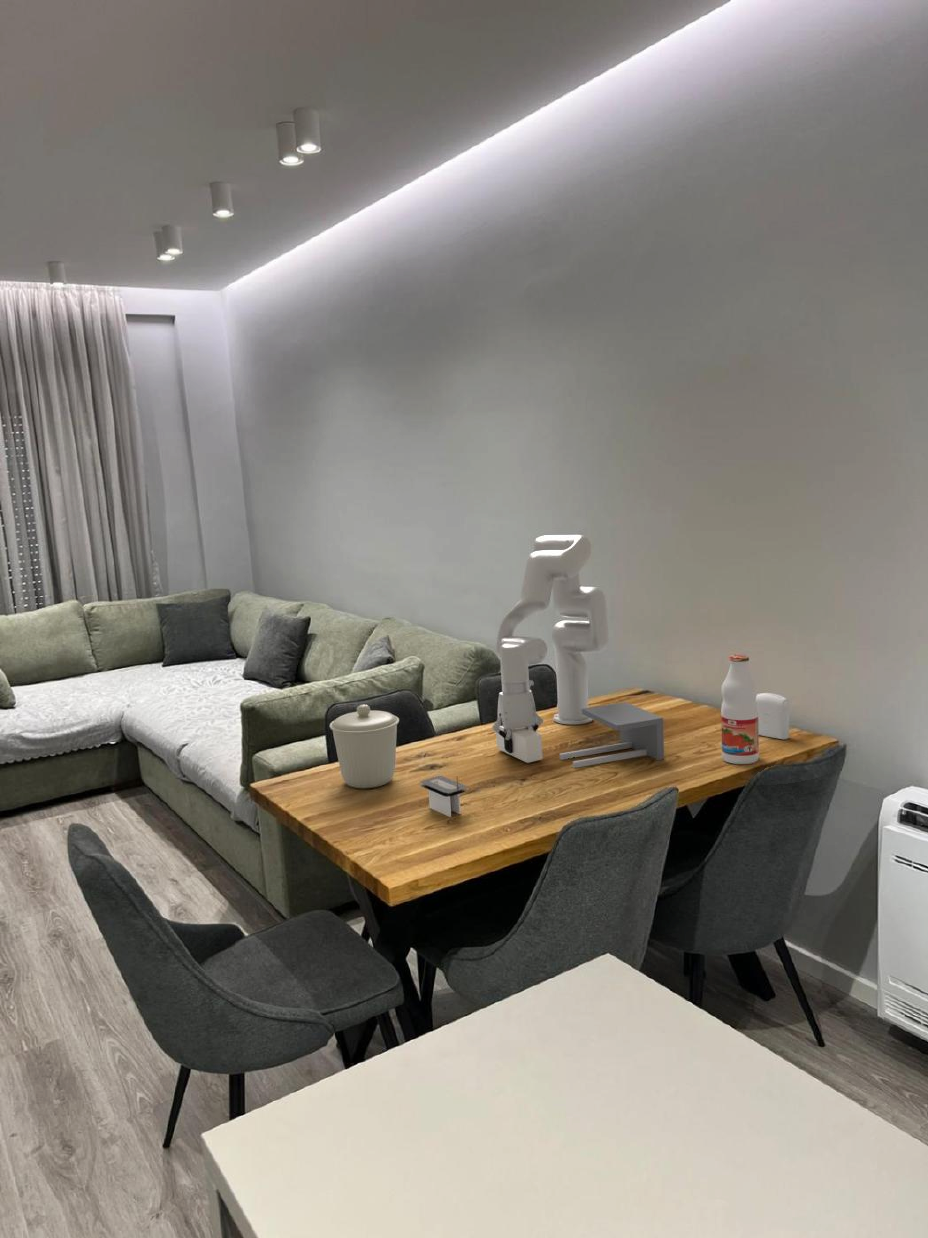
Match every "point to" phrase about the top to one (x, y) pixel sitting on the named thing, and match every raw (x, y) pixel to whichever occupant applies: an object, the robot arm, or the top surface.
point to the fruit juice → (739, 713)
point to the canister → (366, 746)
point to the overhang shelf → (624, 734)
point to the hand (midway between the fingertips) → (519, 749)
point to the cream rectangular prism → (523, 744)
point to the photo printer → (773, 715)
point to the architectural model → (444, 794)
